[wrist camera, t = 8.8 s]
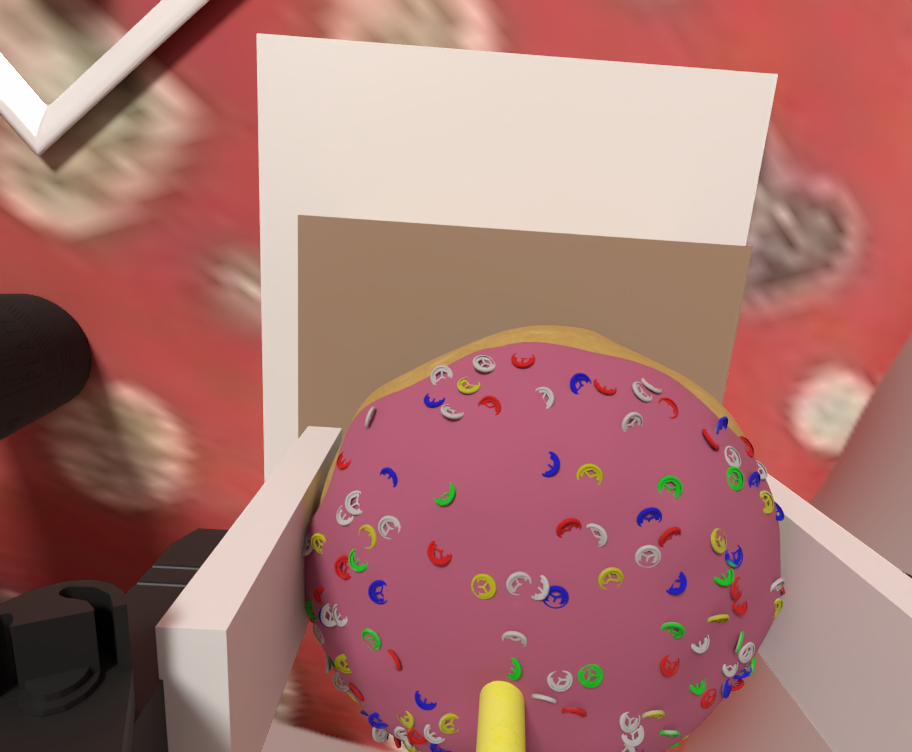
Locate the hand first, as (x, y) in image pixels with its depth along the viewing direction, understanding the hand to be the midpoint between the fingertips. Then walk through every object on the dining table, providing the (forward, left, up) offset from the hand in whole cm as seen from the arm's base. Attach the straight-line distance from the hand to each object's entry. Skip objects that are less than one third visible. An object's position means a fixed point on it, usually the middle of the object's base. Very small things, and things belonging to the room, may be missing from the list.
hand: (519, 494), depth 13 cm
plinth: (0, +1, -11) cm, 11 cm away
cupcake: (0, 0, -2) cm, 2 cm away
